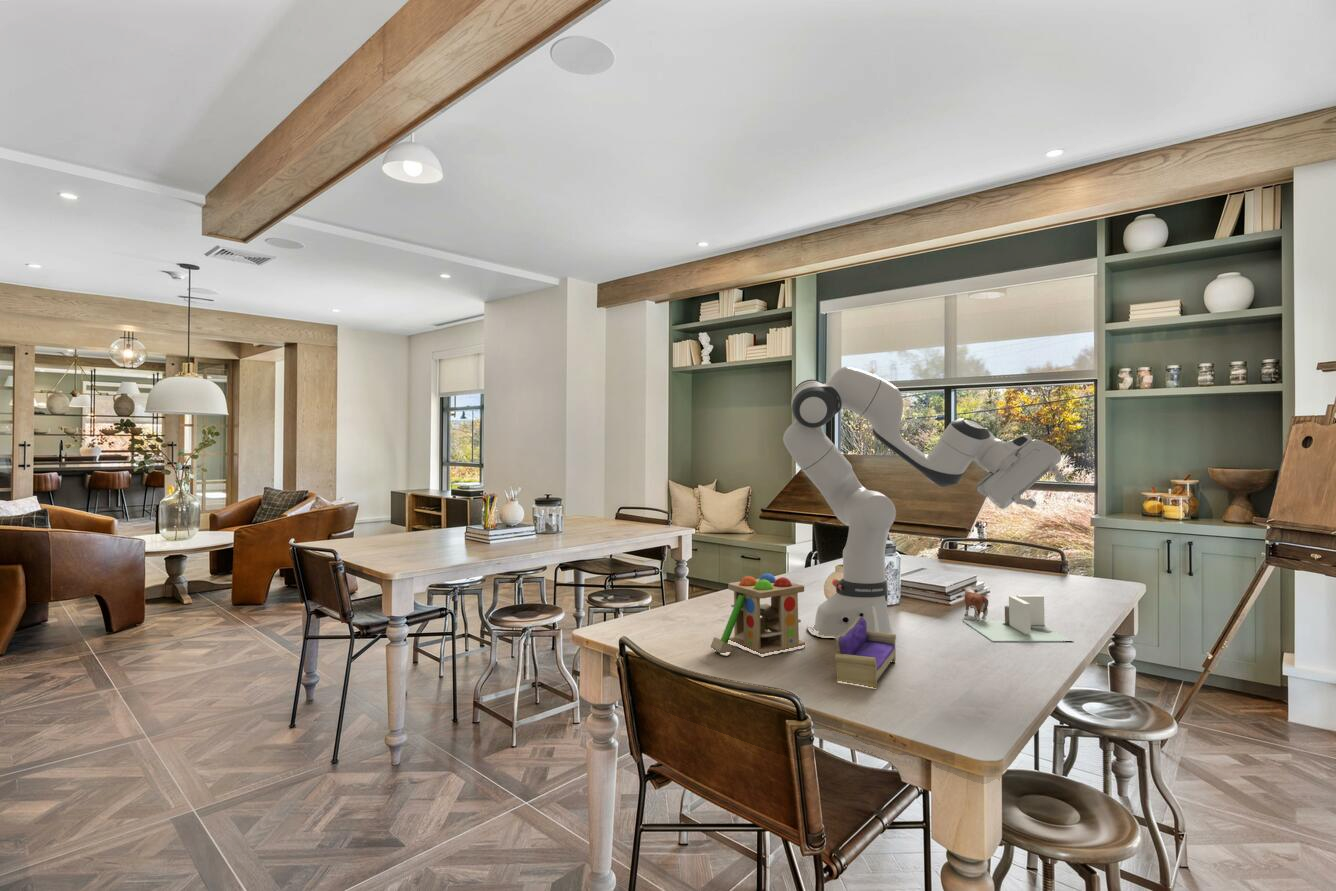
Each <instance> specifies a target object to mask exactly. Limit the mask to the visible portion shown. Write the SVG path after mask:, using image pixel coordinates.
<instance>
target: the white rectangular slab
mask: <svg viewBox="0 0 1336 891" xmlns="http://www.w3.org/2000/svg"><path fill="white" fill-rule="evenodd" d="M1008 606H1009V625H1010V626H1012V627H1014V628H1015V629H1017V630H1019V631H1020V632H1022V633H1024V634H1031V623H1030V603H1028V602H1026V601H1023V600H1021V599H1019V598H1017V597H1016V596H1015V595H1008Z"/></svg>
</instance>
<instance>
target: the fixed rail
mask: <svg viewBox="0 0 1336 891" xmlns="http://www.w3.org/2000/svg"><path fill="white" fill-rule="evenodd" d="M1015 597H1017V598H1019V599H1021V600H1023V601H1026V602H1028V603H1030V623H1031V625H1045V626H1046V624H1045V622H1046V621H1045V620H1046V619H1045V596H1044V595H1041V594H1037V595H1036V594H1035V595H1033V594H1031V595H1030V594H1028V595H1027V594H1026V595H1023V594H1022V595H1016V596H1015ZM1004 621H1005V624H1006V625H1009V605H1004Z"/></svg>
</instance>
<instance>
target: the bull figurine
mask: <svg viewBox="0 0 1336 891" xmlns="http://www.w3.org/2000/svg"><path fill="white" fill-rule="evenodd" d="M961 591H962V592H964V602H965V613H964V616H969V611H970V608H971V609H973V610H974V613H973V616H974V617H976V619H975V621H981V620H987V619H986V618H987V616H988V613H989V610H988V607H989V599H988V598H987V597H986V596H985V595H982V594H979V593H978V592H979V590H978V589H974V588H973V587H972V586H967V587H966V588H965V587H962V588H961ZM981 613H982V617H980V616H981Z"/></svg>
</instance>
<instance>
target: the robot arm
mask: <svg viewBox="0 0 1336 891" xmlns="http://www.w3.org/2000/svg"><path fill="white" fill-rule="evenodd" d="M790 406H791V409H792V415H793V417H794V421H793V422H792V423H791V424H790V425H789V426H787V428H786V429H785V431H784V434H783V437H782V441H783V444H784V446H785V448H786V450H787V451H788V454H790V456H791V457H792V459H793V461H795V462H794V463H795V464H797V466H799V468H800V469H801V471H802V472H804V474H805V476H807V478H808V479H809V480H810V481H811V482H812V483H813V485H815V487H816V489H818V490H819V492H820V494H821V495H822V497H823V498H824V499H825V501H826V503H827V505H828V506H829V507H830V509H831V511H832V512H833V514H834V516H835V517H836V518H837V520H838V521H840V523H842V524H844V525H846V526H848V532H847V533H848V534H847V540H846V543H845V546H844V548H843V550H842V574H843V577H842V578H841V579H840V580H839V579H837V578H833V579H832V580H831V584H832V585H833V586H834V587H835V591H836V592H835V593H834V594H833V595H832V596H830V597H828V599H826V600H825V601H824V602H822V603H821V604H819V606H818V607H817V609H816V613H815V621H814V622H815V625H814V627H813V628H814V629H815V630H816V631H819V633H818V634H819V635H824V636H834V637H837V635H840V636H841V635H842V634H844V633H845V632H846V631H847V630H848V629H849V628H850V627H851V626H852V625H853V624H854V622H855V621H856V619H857V617H862V618H864V619H865V621H866V623H867V631H872V632H881V633H889V634H894V633H893V632H894V631H893V629H892V625H891V622H890V617H889V612H888V607H887V606H888V605H887V601H888V598H889V595H888V592H889V591H888V590H889V589H888V582H887V580H886V547H887V541H888V537H889V533H890V532H889V531H890V529H891V527H892V525H893V524H894V522H895V520H896V517H897V509H896V506H895V503H894V502H893V501H892V500H891V499H890V498H889V497H888V496H886V495H885V494H883V493H882V492H880V491H876V490H871V489H870V490H869V489H867V488H866V487H864V485H862V484H861V482H860V481H859V479H858V477H857V475H856V473H855V472H854V469H853V466H852V464H851V462H850V461H849V460H848V459H847V458H846V456H845V455H844V454H842V452H841V451H840V449H838V447H837V446H836V445H835V444H834V443H833V441H832V440H831V439H830V438H829V437H828V435H827V434H826V433H825V431H824V429H823V426H824V425H826V424H827V423H828V422H829V421H830V420H832V419H833V417H834V416H836V414H838V413H839V412H840V411H841V410H842V409H846V410H848V411H851V412H852V413H854V414H856V415H859V416H861V417H862V418H864V419H865V420H866V421H867V422H868V423H869V424H870V425H871V427H872V435H874V437H875V438H876V439H877V440H878V441H880V442H881V443H882V444H883V445H884V446H886V447H887V449H889V450H891V451H892V452H893V453H895V454H896V455H897V456H898V457H900V458H901V459H903V460H904V461H905V462H907V463H908V464H909V465H911V466H913V467H914V468H915V469H916V470H917V471H919V472H920V473H921V474H922V475H924V476H925V477H926V478H927V479H928V480H929V481H930V482H932V483H933V484H935V485H937V486H939V487H941V488H947V487H951V486H955V485H957V484H959V482H960V481H961V479H962V478H963V476H964V473H965V471H966V470H967V469H968V467H969V465H970V464H971V463H972V462H973V461H974V462H976V463H977V464H978V466H979V467H980V468H982V469H983V470H984V471H986V472H987V474H986V475H985V476H984V477H983V478H982V479H980V480H979V481H978V482H977V483H976V484H977V485H976V491H977V492H978V493H979V494H980V495H981V496H984V497H987V499H989V500H990V501H991V503H992V504H994V505H995V506H996V507H997V508H998V509H1004V510H1006V509H1007V508H1009V506H1010V505H1012V504H1013V503H1014V502H1015V504H1017V505H1021V506H1027V507H1029V508H1030V509H1034V508H1035V507H1036V506H1037V505H1038V503H1037V501H1035V500H1033V498H1031V497H1030V498H1028V499H1025V498H1021V497H1022V496H1021V495H1023V494H1024V493H1026V491H1028V490H1029V489H1030V488H1031V487H1033V485H1035V483H1037V482H1038V481H1039V480H1040V479H1041V478H1042V477H1044V476H1045V475H1047V474H1048V472H1050V473H1052V474H1055V476H1054V480H1055V481H1056V482H1057V483H1059V484H1063V483H1064V482H1065V481H1067V480H1066V479H1067V478H1066V476H1064V475H1063V474H1062V473H1060V469H1059V468H1058V466H1057V464H1059V463H1060V462H1061V459H1062V455H1061V454H1062V453H1061V451H1060V450H1059V449H1058V448H1056V447H1054V446H1053V445H1052V444H1049V443H1047V442H1045V441H1043V440H1040V439H1033V438H1032V436H1031V435H1029V434H1027V433H1024V434H1021V435H1020V436H1017V437H1015V438H1014V439H1010V440H1008V441H1005V440H1003V439H999V438H997V437H996V436H995V435H994V434H993V432H991V431H989V429H988V428H987V427H986V426H984V425H982V424H981V423H980V422H978V421H976V420H974V419H972V418H967V417H965V418H958V419H955V420H953V421H950V422H949V424H948V426H946V428H945V429H944V432H943V433H942V434H941V436H940V438H939V439H938V441H937V442H936V444H935V445H934V447H933V448H932V450H931V451H930V452H929V453H924V452H922V451H921V450H920V449H918V448H917V447H915V446H914V445H913V444H911V443H910V442H909V441H908V440H906V439H904V437H903V436H902V435H901V429H900V428H901V423H902V422H901V421H902V416H903V411H904V410H903V409H904V400H903V395H902V394H901V391H900V390H899V388H898V387H897V386H895V385H894V384H892V383H891V382H889V381H888V380H885V379H883V378H882V377H880V376H877V375H875V374H873V373H870V372H868V371H865V370H863V369H860V368H859V369H858V368H856V367H855V368H854V367H850V366H843V367H841V368H839V369H838V370H837V371H836V372H834V373H833V375H832V376H831V378H830V380H829V381H828V382H825V383H824V382H823V381H820V380H817V379H807V380H804V381H801V382H800V383H799V384H798V385H797V386H795V388H794V390H793V392H792V396H791V401H790ZM809 628H810V629H812V630H813V631H814V629H813V628H812V627H809ZM813 631H812V632H813Z"/></svg>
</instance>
